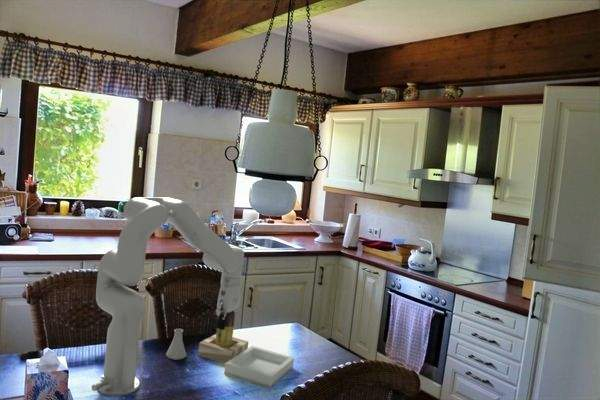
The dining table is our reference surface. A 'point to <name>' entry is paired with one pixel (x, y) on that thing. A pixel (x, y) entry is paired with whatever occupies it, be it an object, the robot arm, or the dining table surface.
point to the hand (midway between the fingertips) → (225, 326)
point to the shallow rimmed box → (221, 349)
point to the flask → (176, 346)
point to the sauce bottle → (226, 331)
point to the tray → (259, 366)
